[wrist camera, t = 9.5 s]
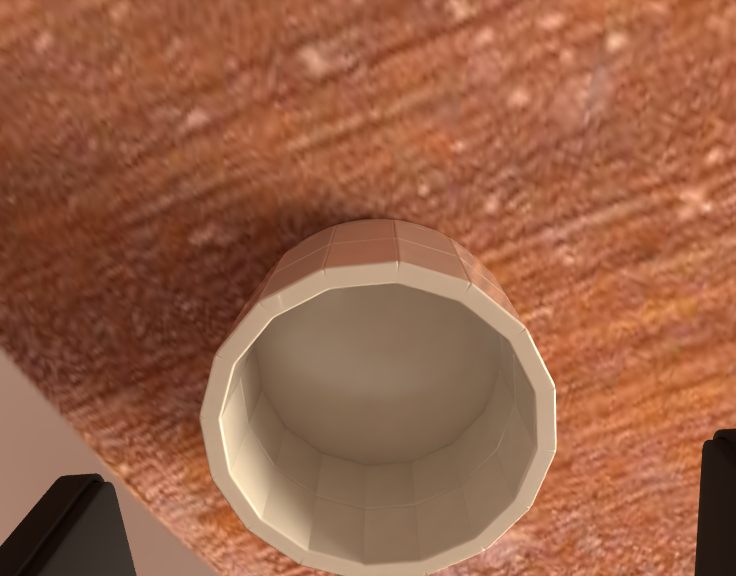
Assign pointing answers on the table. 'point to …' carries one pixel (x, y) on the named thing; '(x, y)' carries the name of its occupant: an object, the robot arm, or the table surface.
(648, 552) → the table surface
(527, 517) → the table surface
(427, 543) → the white bowl
